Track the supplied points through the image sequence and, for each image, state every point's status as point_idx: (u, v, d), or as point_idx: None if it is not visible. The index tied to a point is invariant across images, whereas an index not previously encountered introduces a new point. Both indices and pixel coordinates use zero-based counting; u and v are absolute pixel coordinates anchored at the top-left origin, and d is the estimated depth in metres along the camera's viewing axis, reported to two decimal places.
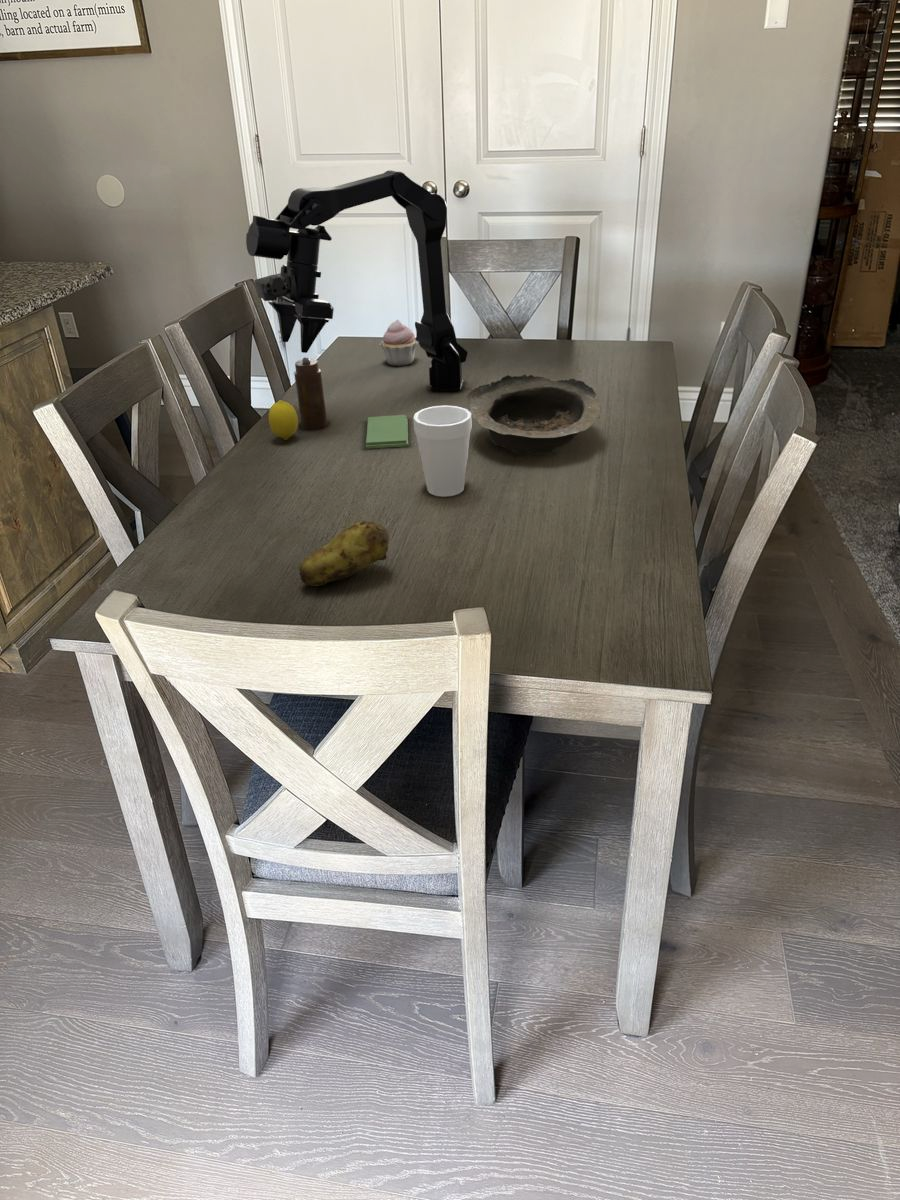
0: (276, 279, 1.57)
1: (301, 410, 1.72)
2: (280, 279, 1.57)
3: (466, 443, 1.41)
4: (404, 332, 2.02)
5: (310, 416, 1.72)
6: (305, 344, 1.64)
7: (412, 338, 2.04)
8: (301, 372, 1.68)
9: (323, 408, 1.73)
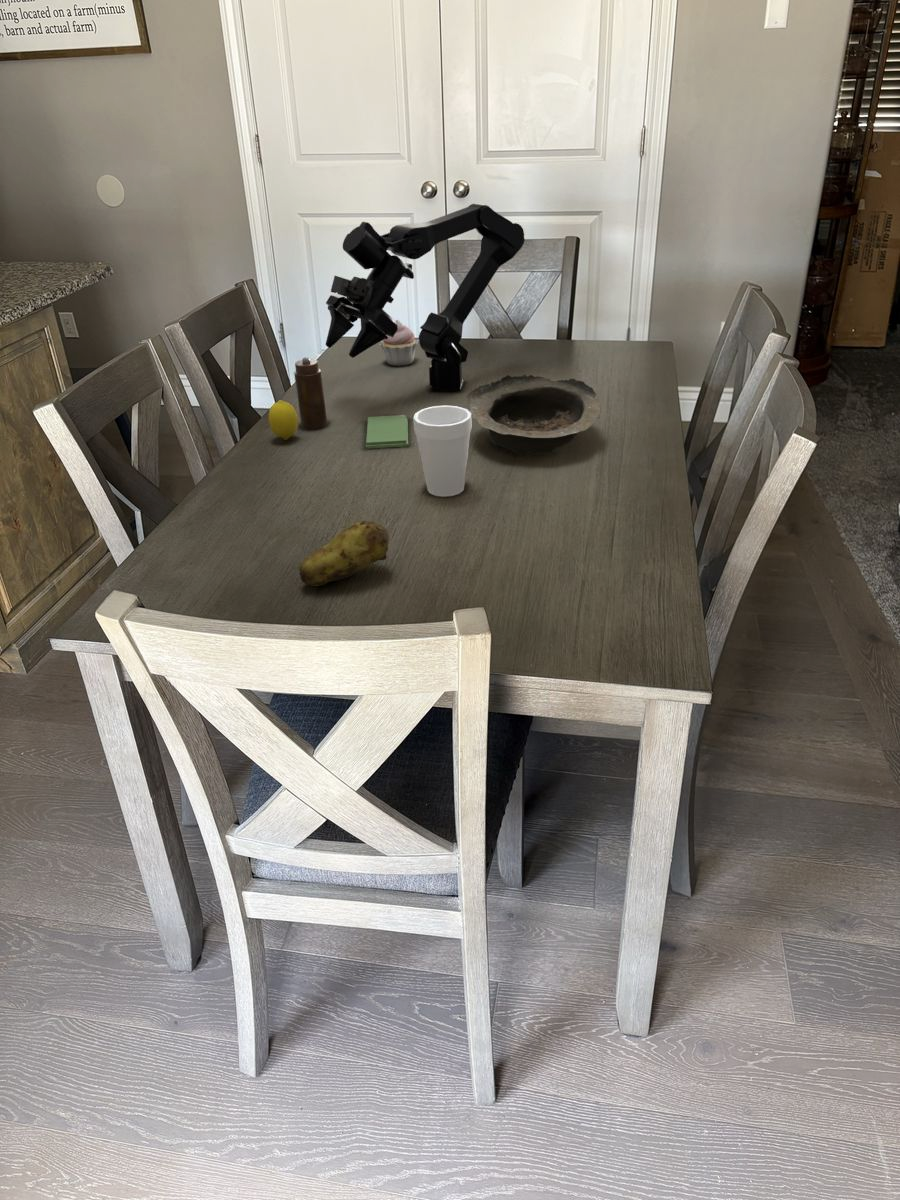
0: (361, 279, 1.64)
1: (301, 410, 1.72)
2: (364, 282, 1.64)
3: (466, 443, 1.41)
4: (404, 332, 2.02)
5: (310, 416, 1.72)
6: (356, 349, 1.68)
7: (412, 338, 2.04)
8: (301, 372, 1.68)
9: (323, 408, 1.73)
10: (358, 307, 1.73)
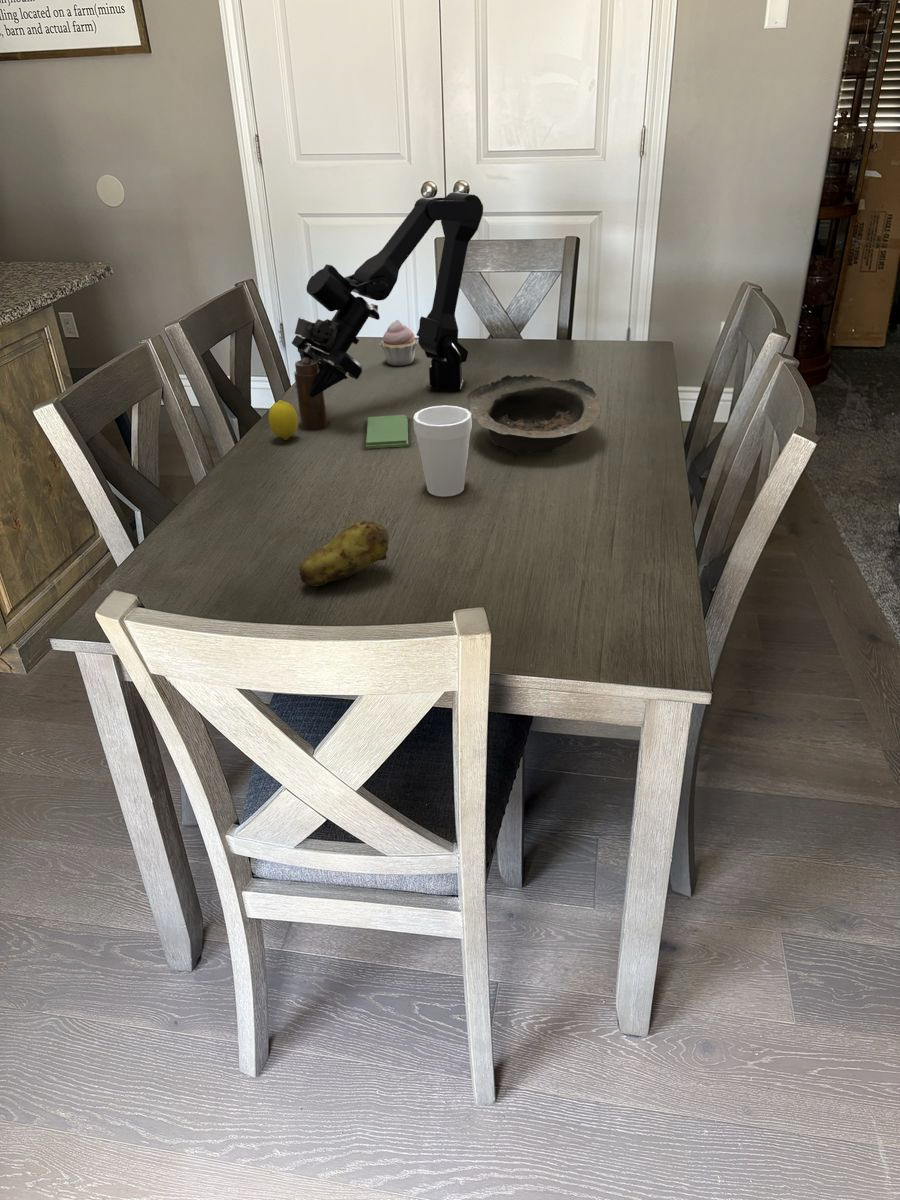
0: (324, 322, 1.63)
1: (301, 410, 1.72)
2: (327, 324, 1.63)
3: (466, 443, 1.41)
4: (404, 332, 2.02)
5: (310, 416, 1.72)
6: (316, 389, 1.69)
7: (412, 338, 2.04)
8: (301, 372, 1.68)
9: (323, 408, 1.73)
10: (323, 348, 1.72)
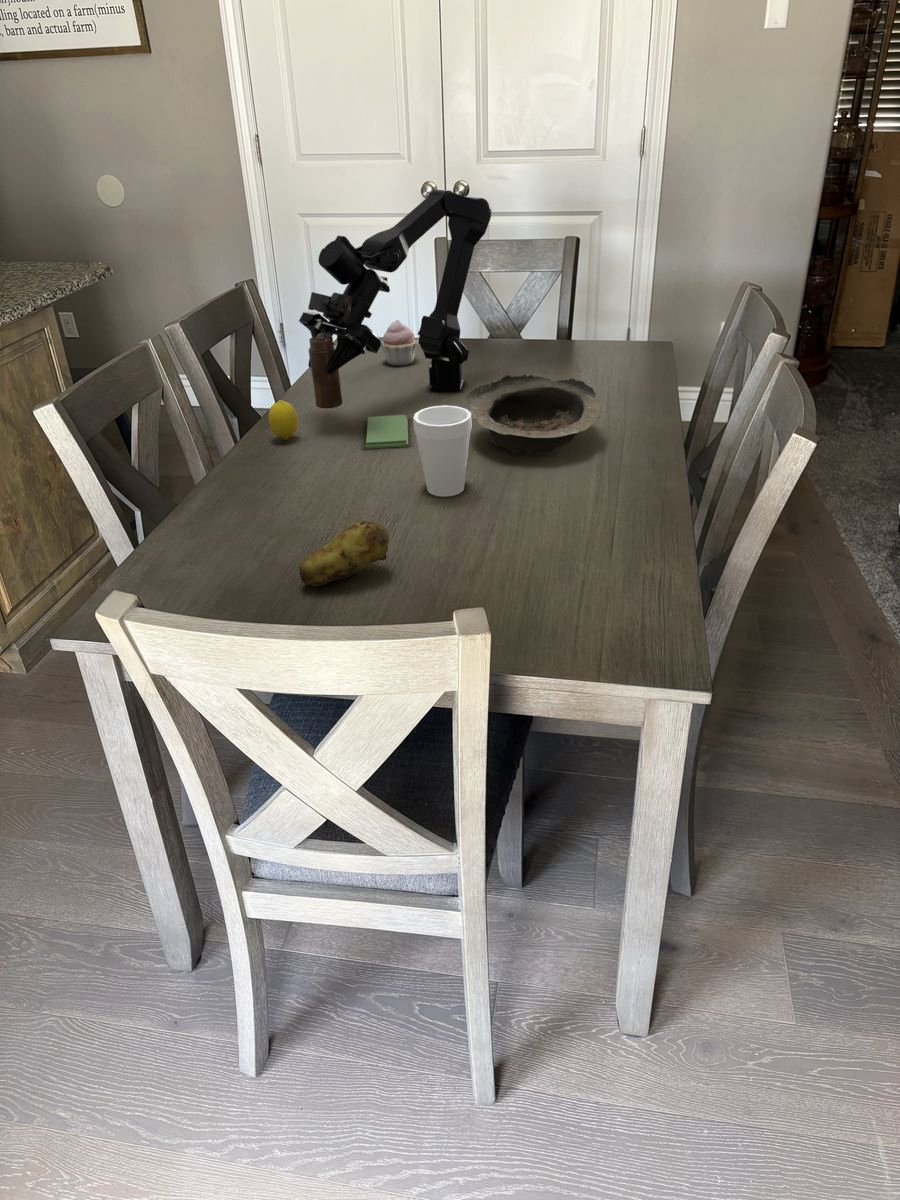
0: (341, 295, 1.58)
1: (317, 389, 1.67)
2: (344, 297, 1.59)
3: (466, 443, 1.41)
4: (404, 332, 2.02)
5: (327, 394, 1.67)
6: (333, 366, 1.64)
7: (412, 338, 2.04)
8: (317, 349, 1.62)
9: (339, 385, 1.68)
10: (335, 324, 1.67)
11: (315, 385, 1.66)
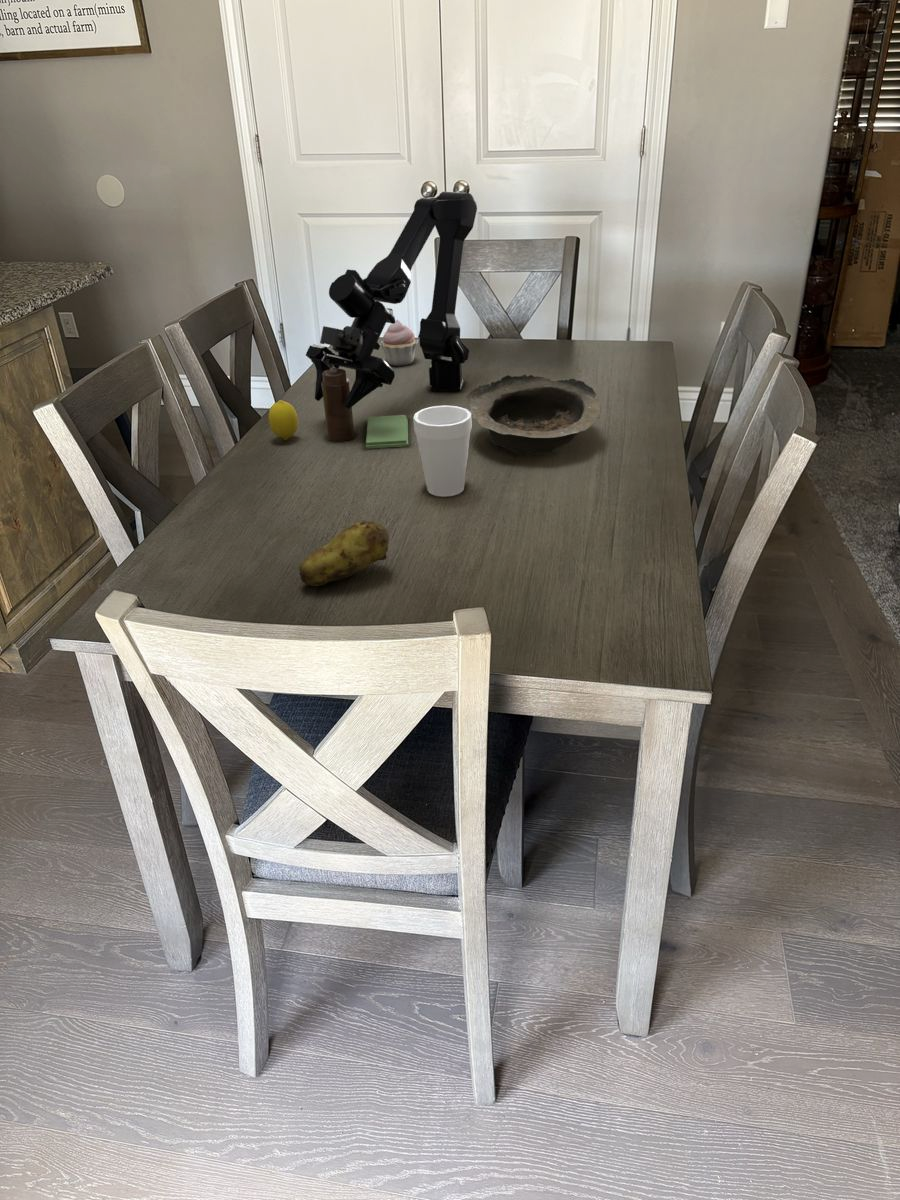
0: (355, 329, 1.58)
1: (331, 422, 1.66)
2: (358, 331, 1.59)
3: (466, 443, 1.41)
4: (404, 332, 2.02)
5: (341, 427, 1.66)
6: (352, 400, 1.62)
7: (412, 338, 2.04)
8: (332, 382, 1.62)
9: (352, 418, 1.67)
10: (344, 356, 1.67)
11: (328, 418, 1.66)
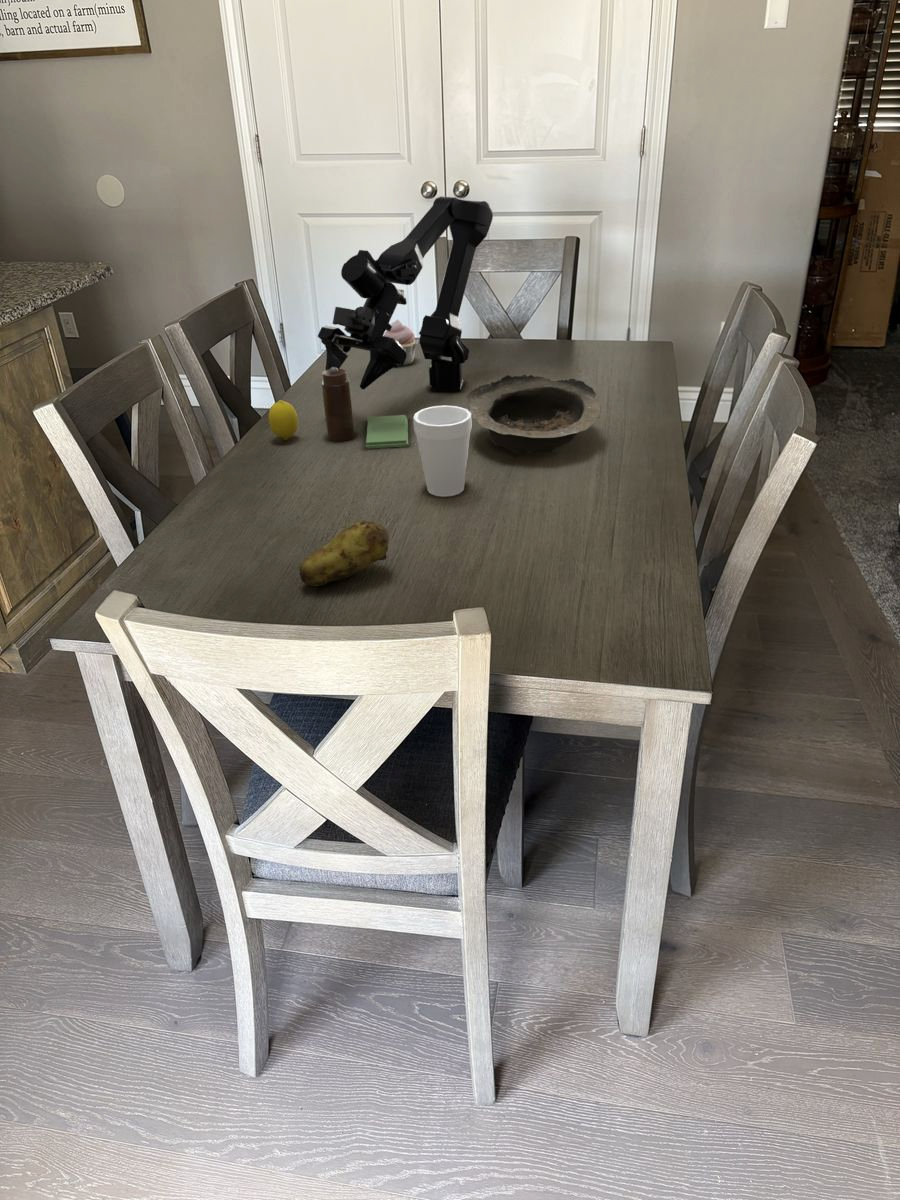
0: (368, 309, 1.59)
1: (331, 422, 1.66)
2: (370, 311, 1.60)
3: (466, 443, 1.41)
4: (404, 332, 2.02)
5: (341, 427, 1.66)
6: (366, 381, 1.63)
7: (412, 338, 2.04)
8: (332, 382, 1.62)
9: (352, 418, 1.67)
10: (355, 337, 1.68)
11: (328, 418, 1.66)
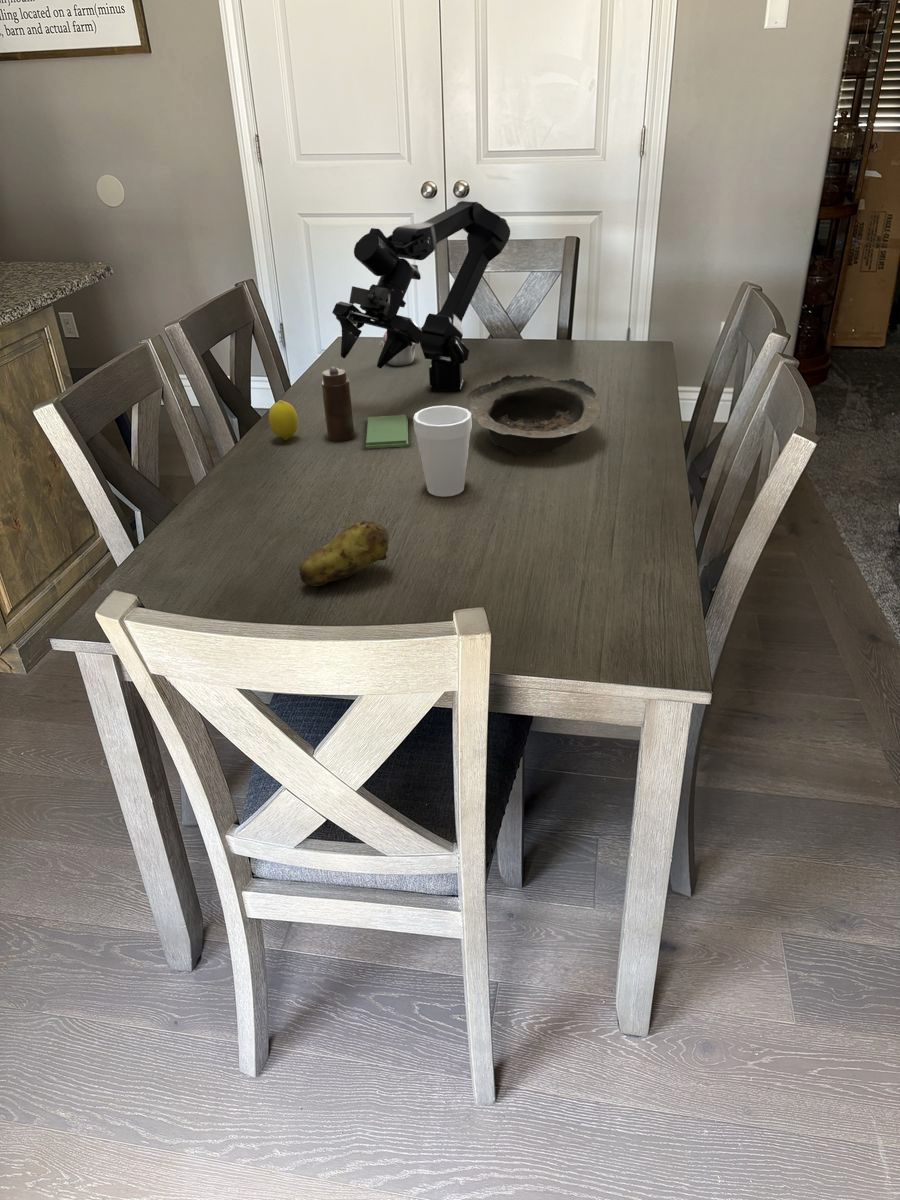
0: (385, 289, 1.61)
1: (331, 422, 1.66)
2: (387, 291, 1.62)
3: (466, 443, 1.41)
4: None
5: (341, 427, 1.66)
6: (383, 360, 1.67)
7: None
8: (332, 382, 1.62)
9: (352, 418, 1.67)
10: (370, 314, 1.70)
11: (328, 418, 1.66)
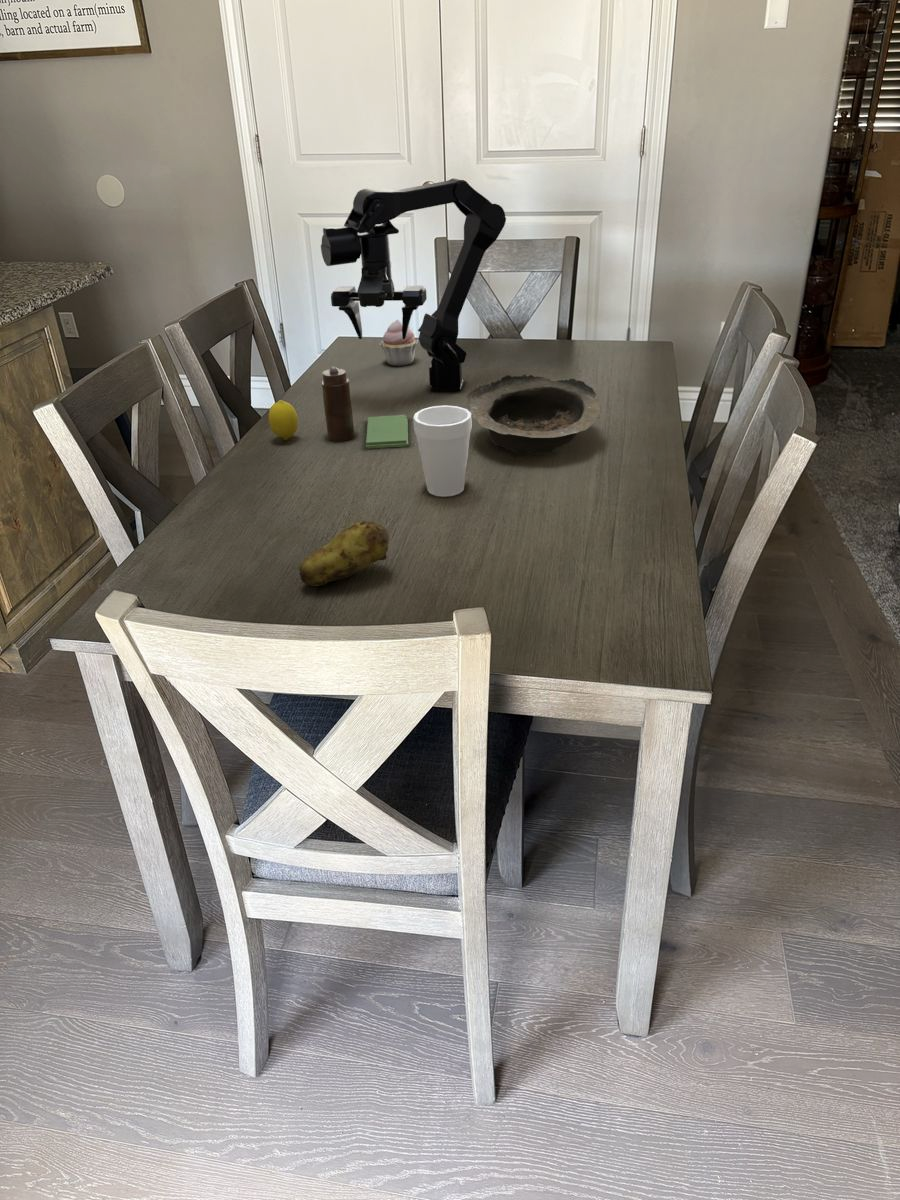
0: (391, 283, 1.67)
1: (331, 422, 1.66)
2: (392, 281, 1.67)
3: (466, 443, 1.41)
4: None
5: (341, 427, 1.66)
6: (405, 330, 1.78)
7: (412, 338, 2.04)
8: (332, 382, 1.62)
9: (352, 418, 1.67)
10: None
11: (328, 418, 1.66)
